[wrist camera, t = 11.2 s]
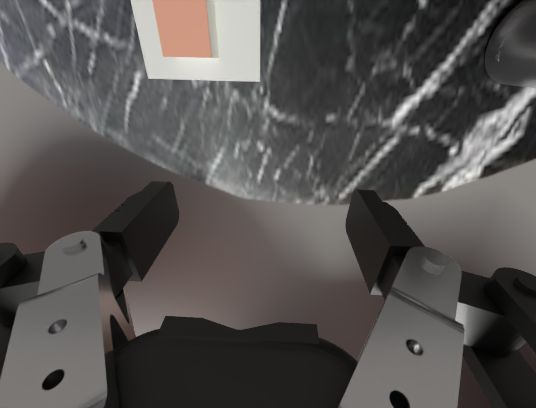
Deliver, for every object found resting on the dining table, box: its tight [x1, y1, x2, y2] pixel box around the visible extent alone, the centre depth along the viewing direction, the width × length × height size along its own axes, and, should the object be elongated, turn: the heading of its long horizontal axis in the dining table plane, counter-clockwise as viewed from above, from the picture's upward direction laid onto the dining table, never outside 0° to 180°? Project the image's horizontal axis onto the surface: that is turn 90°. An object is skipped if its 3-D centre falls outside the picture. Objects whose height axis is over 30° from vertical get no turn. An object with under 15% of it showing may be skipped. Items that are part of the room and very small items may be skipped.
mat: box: [131, 0, 260, 82], centre depth 27 cm, size 15×15×1 cm
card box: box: [152, 0, 219, 58], centre depth 25 cm, size 10×6×4 cm, turn 179°
